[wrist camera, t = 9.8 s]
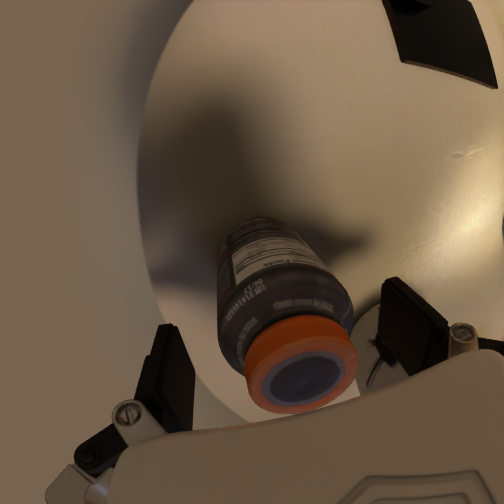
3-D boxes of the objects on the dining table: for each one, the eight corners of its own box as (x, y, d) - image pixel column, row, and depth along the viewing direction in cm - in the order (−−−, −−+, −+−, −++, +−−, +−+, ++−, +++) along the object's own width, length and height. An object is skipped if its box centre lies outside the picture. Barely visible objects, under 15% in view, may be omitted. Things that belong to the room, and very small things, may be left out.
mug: (416, 262, 20) (494, 323, 11) (428, 356, 26) (471, 410, 17) (314, 325, 21) (361, 422, 12) (356, 402, 27) (387, 467, 18)
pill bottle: (271, 307, 20) (312, 437, 10) (201, 272, 19) (186, 409, 8) (319, 243, 19) (412, 346, 8) (247, 198, 17) (290, 280, 7)
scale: (359, -42, 10) (371, -54, 7) (465, 0, 10) (478, -4, 8) (396, 61, 14) (415, 54, 12) (492, 89, 15) (509, 89, 12)
